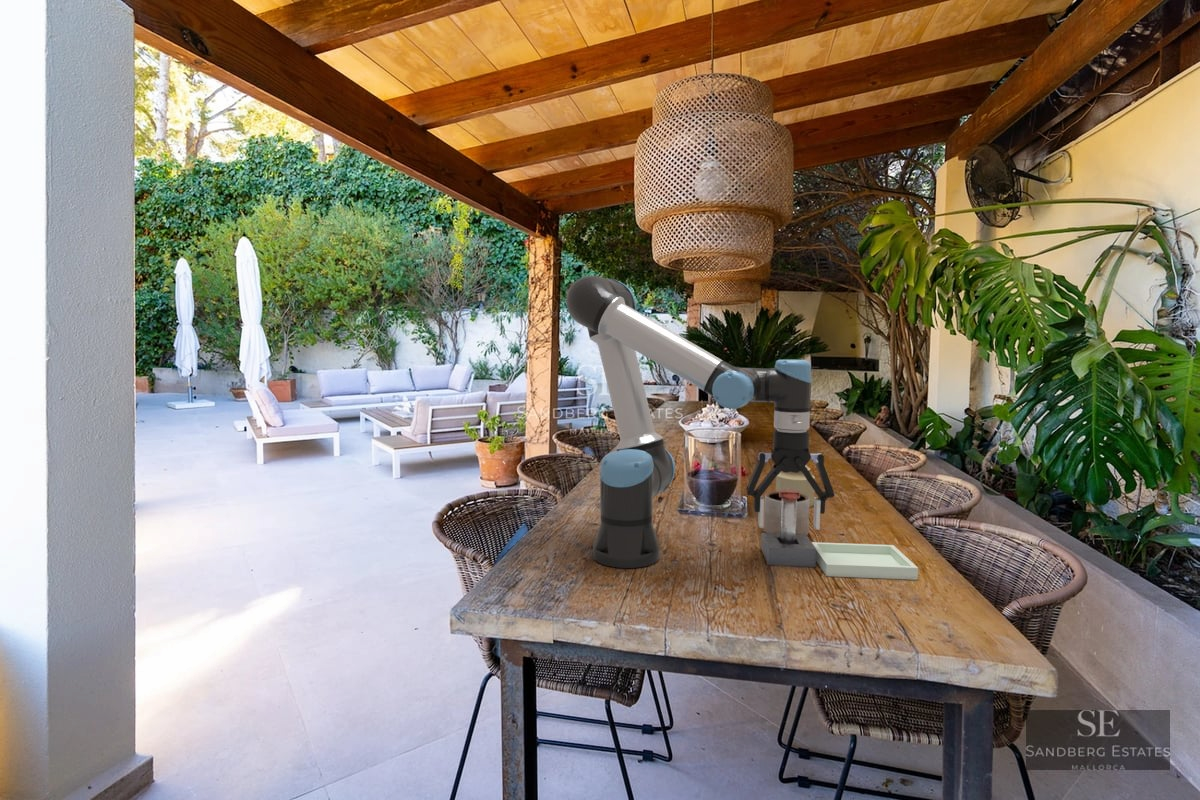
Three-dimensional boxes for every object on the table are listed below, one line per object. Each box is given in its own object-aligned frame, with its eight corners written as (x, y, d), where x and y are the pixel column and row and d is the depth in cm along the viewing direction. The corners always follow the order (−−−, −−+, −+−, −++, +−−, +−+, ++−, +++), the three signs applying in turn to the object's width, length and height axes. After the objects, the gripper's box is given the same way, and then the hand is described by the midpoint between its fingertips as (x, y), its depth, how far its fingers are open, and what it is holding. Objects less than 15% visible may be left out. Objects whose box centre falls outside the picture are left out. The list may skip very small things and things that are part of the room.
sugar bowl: (763, 496, 192) (764, 448, 191) (795, 494, 194) (797, 447, 193) (786, 509, 178) (788, 457, 176) (821, 507, 180) (823, 456, 178)
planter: (811, 541, 149) (812, 503, 148) (764, 538, 151) (765, 500, 150) (805, 528, 160) (806, 492, 159) (762, 525, 162) (763, 490, 161)
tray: (826, 576, 128) (826, 564, 127) (810, 552, 141) (811, 542, 141) (917, 579, 126) (918, 567, 125) (892, 555, 139) (893, 545, 139)
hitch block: (768, 565, 134) (768, 547, 133) (761, 549, 144) (761, 532, 143) (815, 567, 133) (816, 549, 132) (805, 551, 143) (805, 534, 142)
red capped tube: (779, 561, 136) (781, 493, 135) (775, 554, 141) (777, 488, 139) (799, 561, 136) (801, 494, 134) (795, 554, 140) (797, 489, 139)
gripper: (738, 431, 133) (735, 530, 135) (852, 433, 130) (848, 533, 132) (734, 426, 140) (732, 520, 142) (842, 428, 138) (838, 523, 140)
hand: (788, 526), depth 137 cm, fingers open, 11 cm apart
